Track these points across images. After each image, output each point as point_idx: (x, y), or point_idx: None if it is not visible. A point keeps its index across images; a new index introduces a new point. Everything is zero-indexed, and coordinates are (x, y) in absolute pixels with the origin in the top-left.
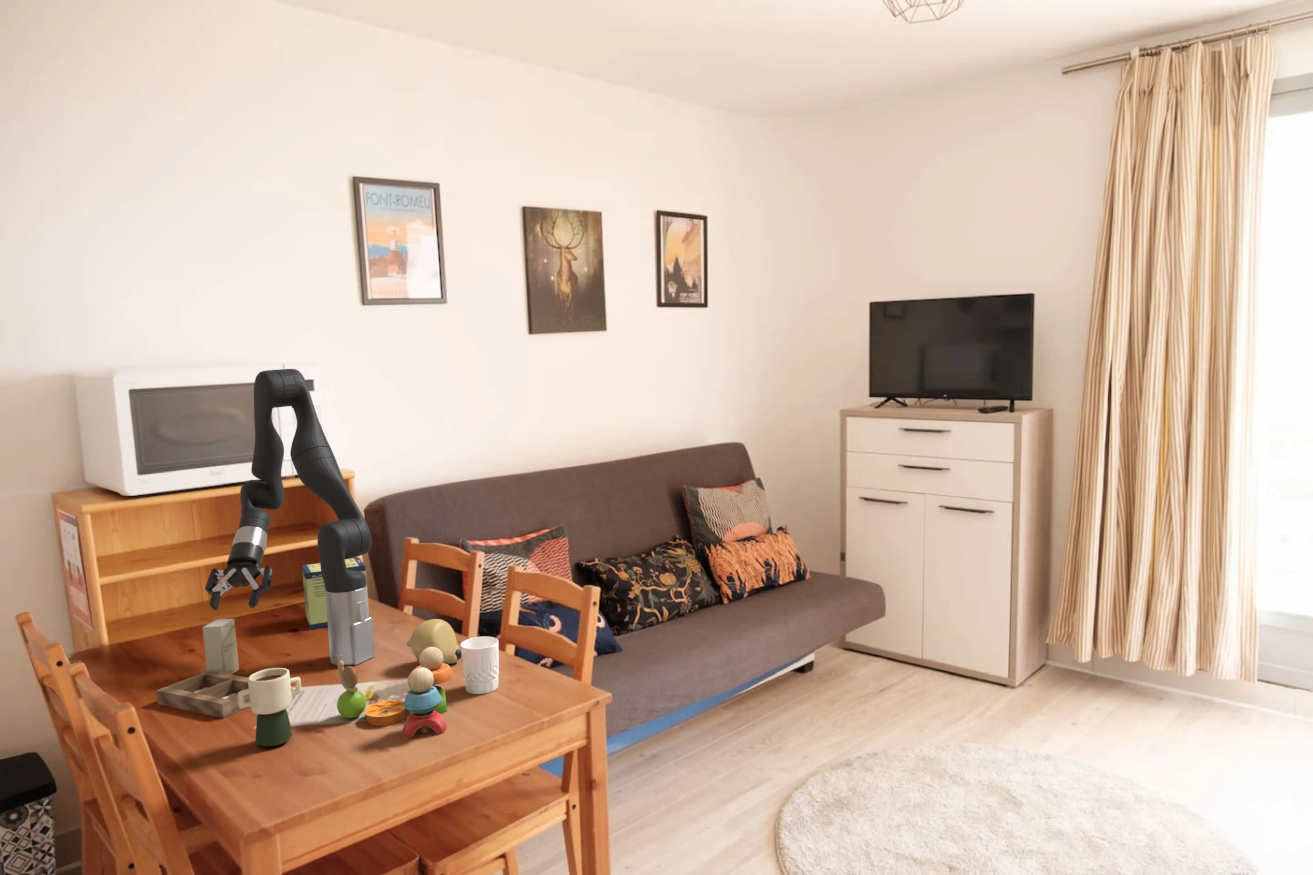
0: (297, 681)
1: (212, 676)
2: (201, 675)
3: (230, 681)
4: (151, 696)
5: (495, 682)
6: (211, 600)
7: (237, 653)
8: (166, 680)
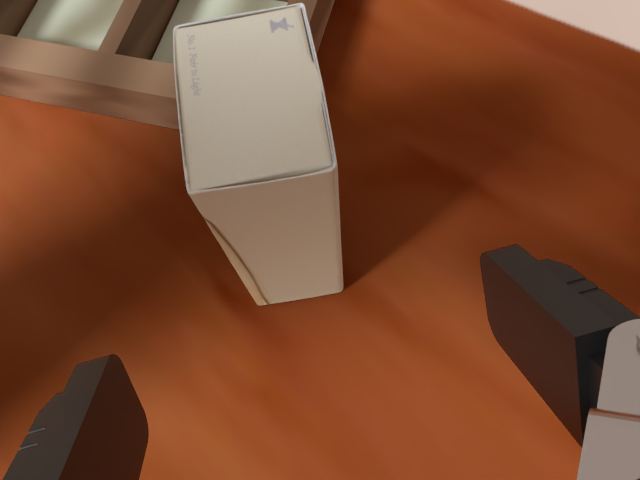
0: None
1: None
2: None
3: (104, 44)
4: (423, 26)
5: None
6: (574, 284)
7: (242, 280)
8: (508, 155)
